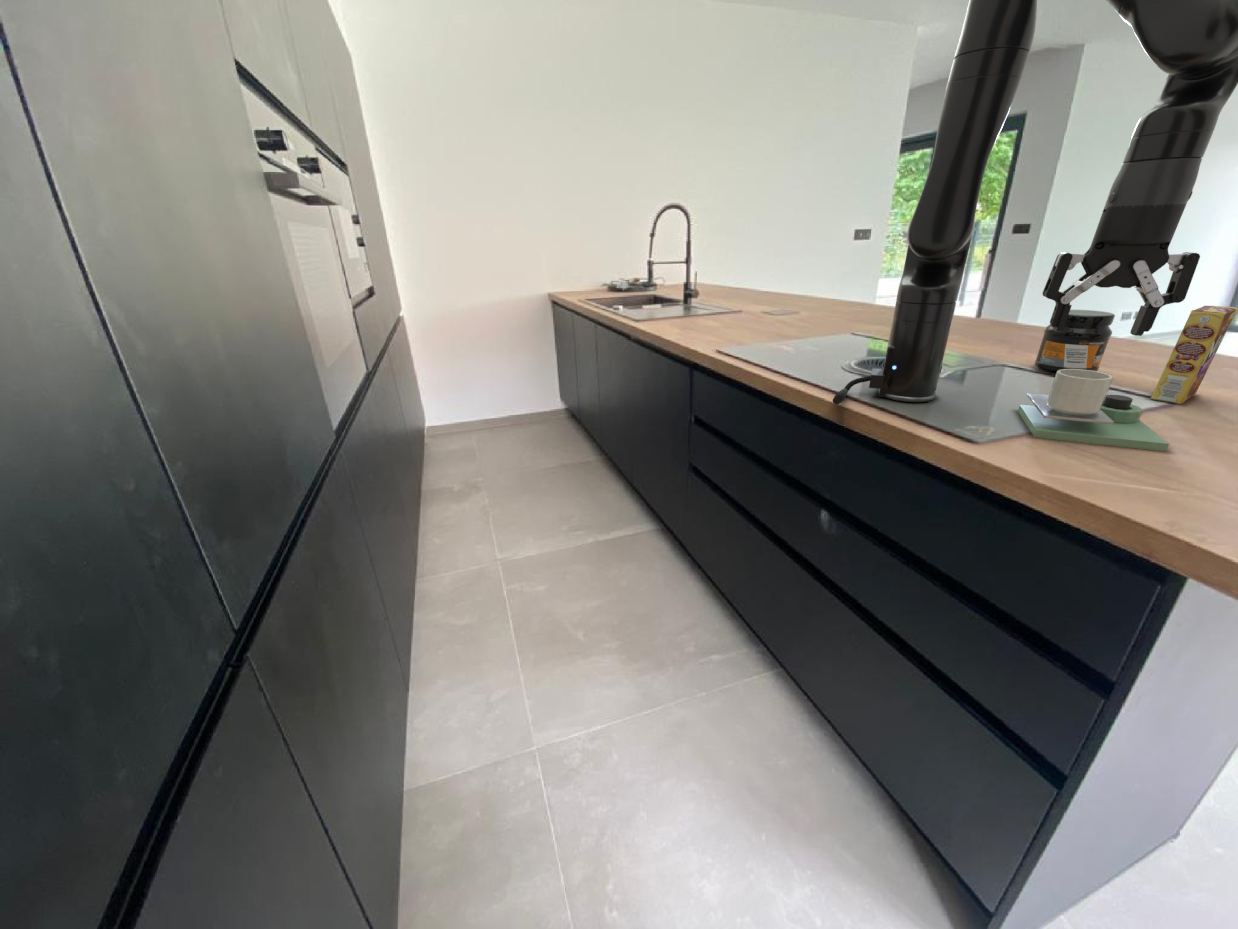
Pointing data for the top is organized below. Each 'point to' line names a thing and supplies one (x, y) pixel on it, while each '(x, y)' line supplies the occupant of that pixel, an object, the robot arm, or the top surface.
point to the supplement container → (1076, 342)
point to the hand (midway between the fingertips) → (1095, 332)
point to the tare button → (1117, 402)
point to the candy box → (1193, 353)
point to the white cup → (1079, 391)
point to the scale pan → (1047, 412)
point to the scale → (1096, 429)
